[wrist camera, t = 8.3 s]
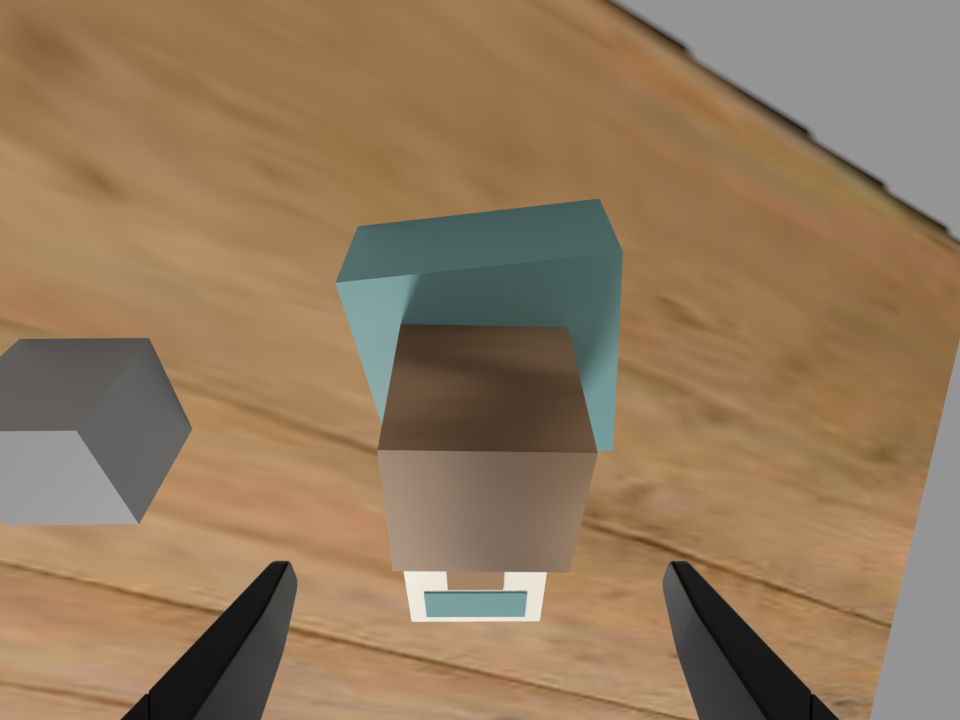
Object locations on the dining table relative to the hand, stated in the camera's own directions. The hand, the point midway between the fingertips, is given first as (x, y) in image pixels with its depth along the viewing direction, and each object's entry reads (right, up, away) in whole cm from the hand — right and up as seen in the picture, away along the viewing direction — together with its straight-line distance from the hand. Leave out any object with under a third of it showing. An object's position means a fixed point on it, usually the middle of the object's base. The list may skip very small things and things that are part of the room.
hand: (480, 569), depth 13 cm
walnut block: (0, +4, +5) cm, 6 cm away
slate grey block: (-15, +4, +10) cm, 18 cm away
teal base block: (0, +7, +8) cm, 10 cm away
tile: (0, -8, +19) cm, 21 cm away
